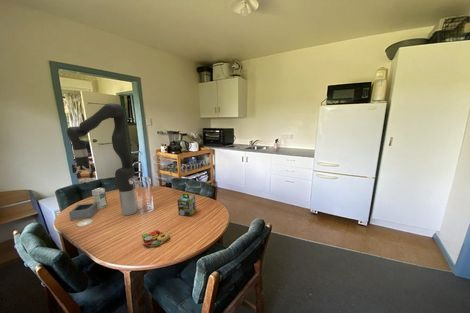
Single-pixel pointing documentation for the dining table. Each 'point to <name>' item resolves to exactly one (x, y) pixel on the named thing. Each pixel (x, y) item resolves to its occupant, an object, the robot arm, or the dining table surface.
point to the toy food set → (154, 238)
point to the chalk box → (186, 205)
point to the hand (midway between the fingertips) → (85, 178)
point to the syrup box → (99, 197)
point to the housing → (83, 211)
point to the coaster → (84, 222)
